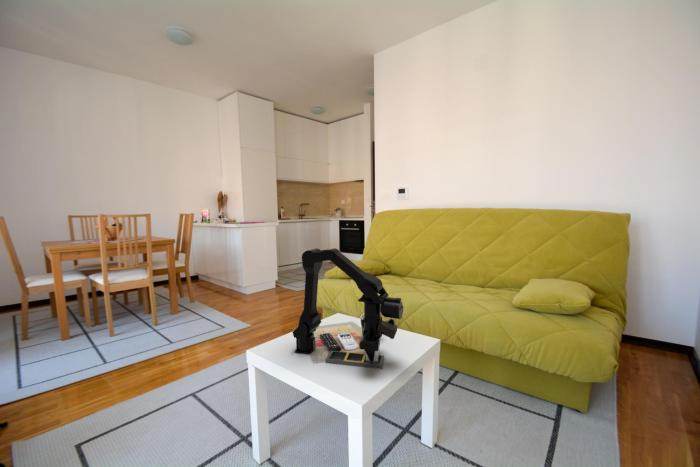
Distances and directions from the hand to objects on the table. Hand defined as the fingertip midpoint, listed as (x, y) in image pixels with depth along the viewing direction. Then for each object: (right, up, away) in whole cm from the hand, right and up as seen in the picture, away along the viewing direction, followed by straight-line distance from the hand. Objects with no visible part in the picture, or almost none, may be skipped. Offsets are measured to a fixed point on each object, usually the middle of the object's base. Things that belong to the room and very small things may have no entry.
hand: (372, 357), depth 104 cm
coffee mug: (+1, -1, +20) cm, 20 cm away
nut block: (0, -2, 0) cm, 2 cm away
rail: (-6, -2, +2) cm, 7 cm away
